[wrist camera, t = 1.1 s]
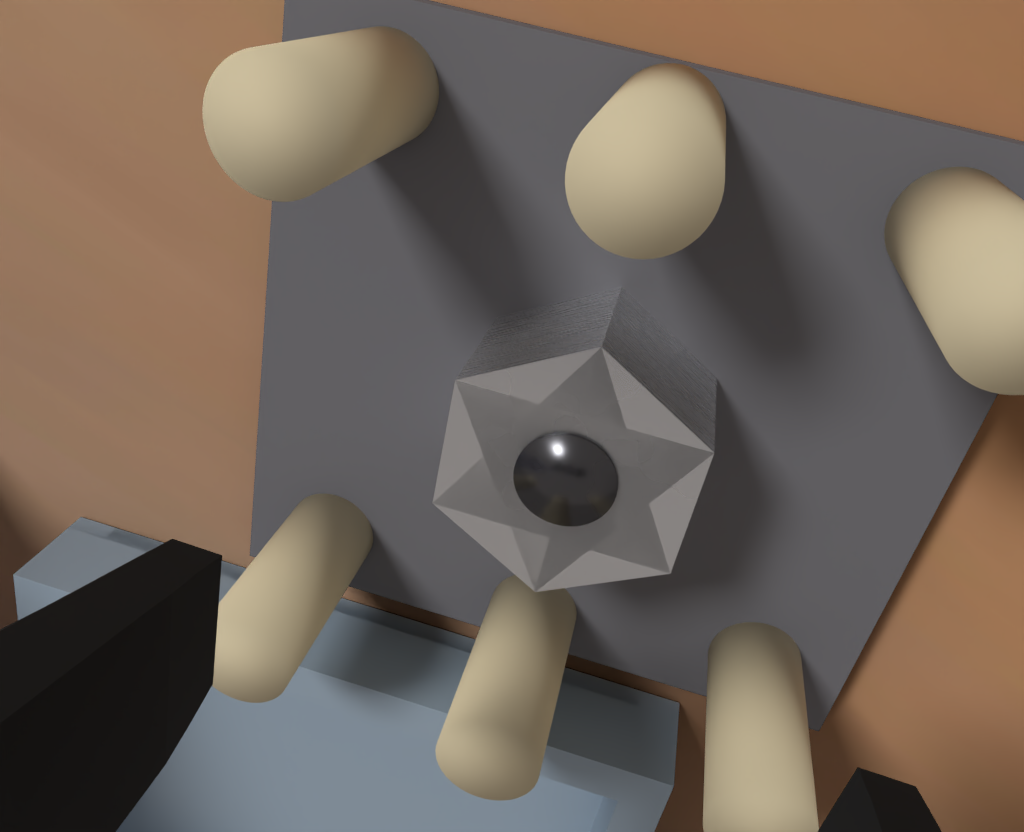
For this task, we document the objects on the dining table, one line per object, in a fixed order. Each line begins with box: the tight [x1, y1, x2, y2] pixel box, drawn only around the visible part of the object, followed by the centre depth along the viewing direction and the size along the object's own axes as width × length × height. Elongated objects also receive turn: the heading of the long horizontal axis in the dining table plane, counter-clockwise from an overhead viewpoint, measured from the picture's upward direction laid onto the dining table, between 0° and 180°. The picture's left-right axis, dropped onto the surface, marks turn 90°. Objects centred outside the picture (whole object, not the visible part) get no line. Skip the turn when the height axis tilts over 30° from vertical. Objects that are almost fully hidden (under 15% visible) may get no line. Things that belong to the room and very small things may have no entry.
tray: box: [13, 517, 679, 832], centre depth 24 cm, size 16×14×2 cm
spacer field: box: [203, 0, 1024, 832], centre depth 16 cm, size 14×13×5 cm
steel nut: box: [433, 287, 717, 592], centre depth 16 cm, size 4×5×3 cm
